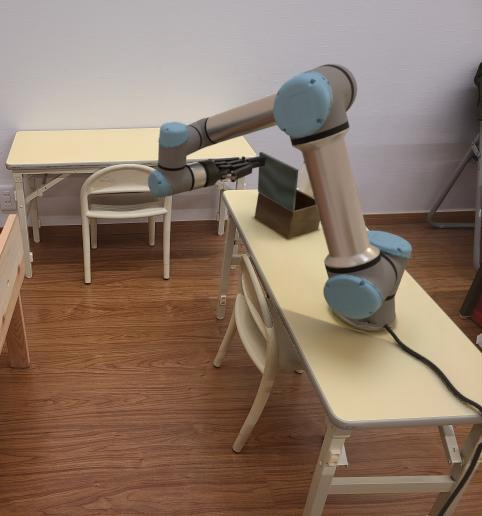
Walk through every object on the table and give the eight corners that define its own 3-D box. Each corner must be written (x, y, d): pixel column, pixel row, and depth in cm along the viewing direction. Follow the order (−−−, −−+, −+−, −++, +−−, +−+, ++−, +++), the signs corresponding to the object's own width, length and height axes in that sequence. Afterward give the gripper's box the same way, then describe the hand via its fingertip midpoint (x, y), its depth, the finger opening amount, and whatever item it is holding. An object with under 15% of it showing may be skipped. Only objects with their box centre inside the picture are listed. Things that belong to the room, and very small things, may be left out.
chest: (283, 209, 178) (288, 184, 173) (318, 229, 166) (324, 203, 161) (254, 217, 173) (258, 192, 167) (287, 239, 160) (293, 212, 155)
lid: (261, 151, 158) (259, 152, 158) (298, 169, 146) (296, 170, 146) (259, 190, 167) (257, 191, 167) (294, 210, 155) (292, 211, 155)
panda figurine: (323, 210, 178) (333, 171, 170) (291, 209, 178) (299, 170, 170) (315, 196, 188) (324, 158, 180) (285, 194, 188) (292, 157, 180)
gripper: (186, 178, 146) (248, 164, 156) (212, 196, 137) (276, 180, 147) (187, 154, 142) (251, 141, 152) (214, 170, 133) (281, 156, 142)
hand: (263, 160), depth 149 cm, fingers closed
